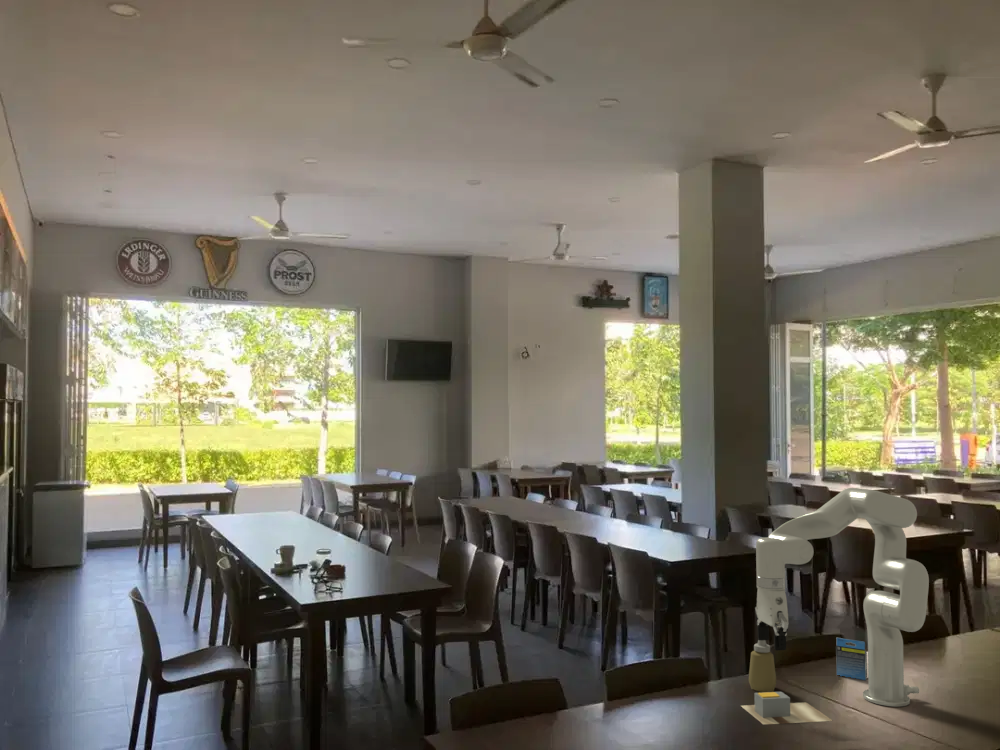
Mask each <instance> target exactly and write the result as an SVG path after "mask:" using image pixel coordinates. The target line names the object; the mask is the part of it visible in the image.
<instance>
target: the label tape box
mask: <svg viewBox="0 0 1000 750" xmlns="http://www.w3.org/2000/svg"><path fill="white" fill-rule="evenodd" d="M835 639H836V646H835V655H836V656H835V657H836V660H835V661H836V676H837V675H840V676H839V677H842V676H845V677H844V678H848V677H851V678H850V679H855V678H856V680H862V681H867V680H868V679H867V678H868V651H866V642H865V641H861V640H855V639H849V638H841V637H836V638H835ZM850 643H851V644H852V645H851V644H850Z"/></svg>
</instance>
